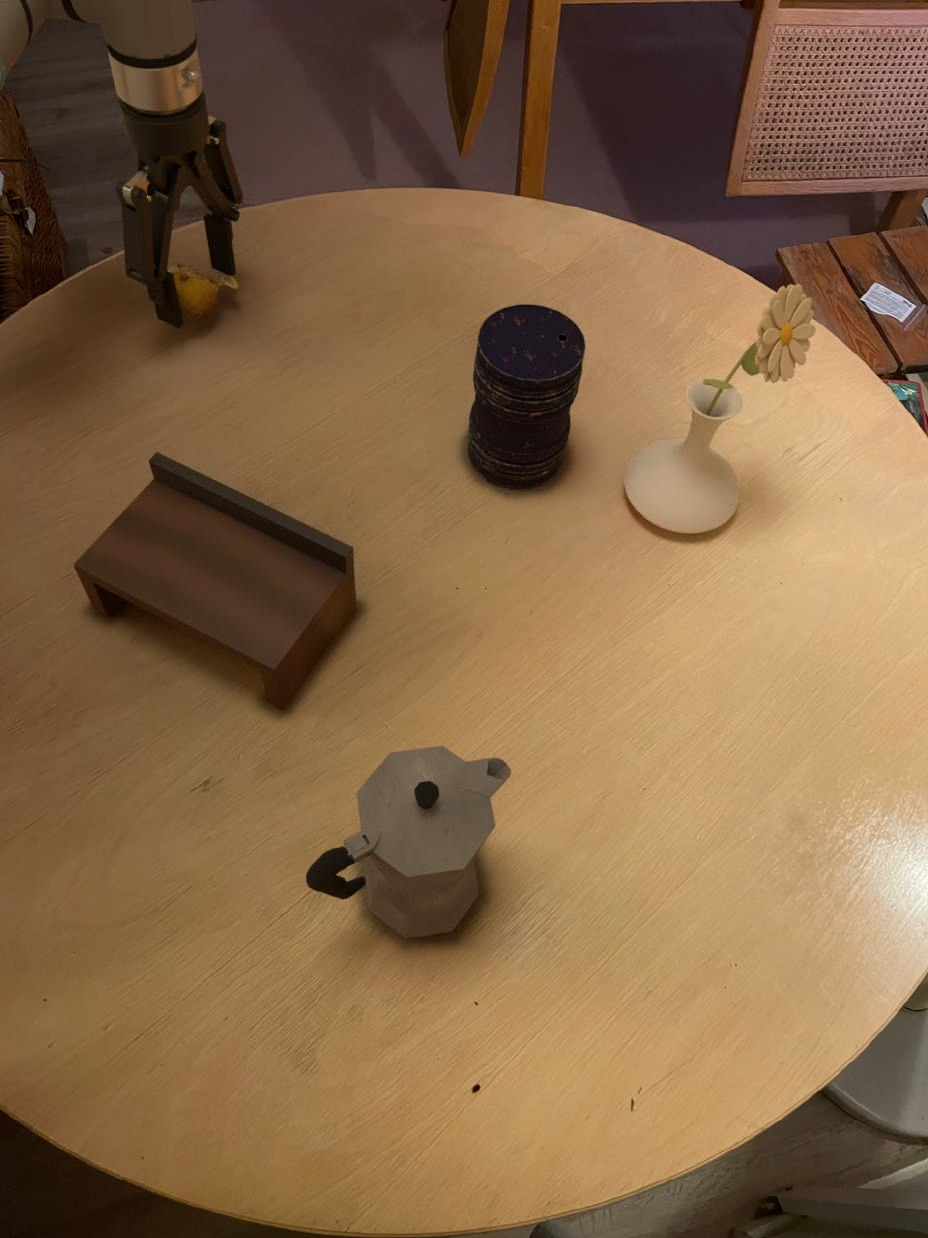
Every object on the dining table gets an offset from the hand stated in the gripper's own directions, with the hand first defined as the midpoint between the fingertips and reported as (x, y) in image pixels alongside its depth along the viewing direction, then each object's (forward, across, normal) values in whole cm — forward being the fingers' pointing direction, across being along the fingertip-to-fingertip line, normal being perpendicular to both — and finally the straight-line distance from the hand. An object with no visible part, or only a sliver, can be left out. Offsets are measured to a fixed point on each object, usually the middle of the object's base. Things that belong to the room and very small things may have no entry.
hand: (197, 295), depth 111 cm
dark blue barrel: (+2, 0, -38) cm, 38 cm away
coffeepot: (+2, -44, -51) cm, 68 cm away
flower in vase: (+2, +4, -55) cm, 56 cm away
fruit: (+1, +1, 0) cm, 1 cm away
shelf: (+2, -30, -24) cm, 39 cm away
